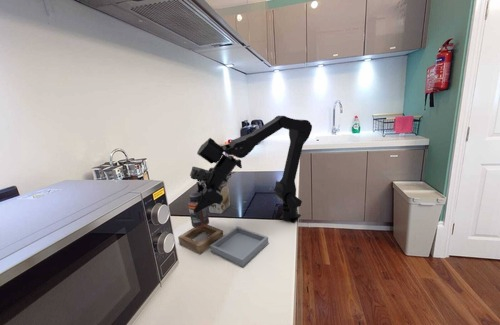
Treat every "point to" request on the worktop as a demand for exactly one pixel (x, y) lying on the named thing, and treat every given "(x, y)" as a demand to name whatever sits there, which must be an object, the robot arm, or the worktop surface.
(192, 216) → the supplement bottle
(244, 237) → the grey tray
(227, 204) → the coffee box
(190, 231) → the walnut holder
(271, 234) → the worktop surface
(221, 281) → the worktop surface
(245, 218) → the worktop surface
